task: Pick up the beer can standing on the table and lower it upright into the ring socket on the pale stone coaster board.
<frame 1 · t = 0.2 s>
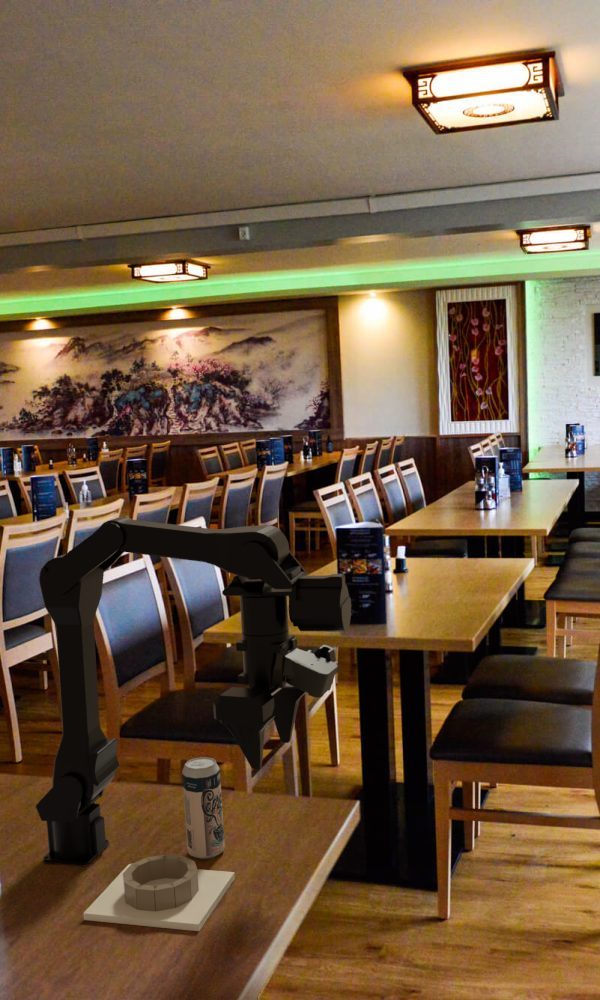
hand: (271, 755, 119), 14 cm above the table, fingers open, 9 cm apart
beer can: (206, 854, 126), on the table
socket board: (162, 898, 115), on the table
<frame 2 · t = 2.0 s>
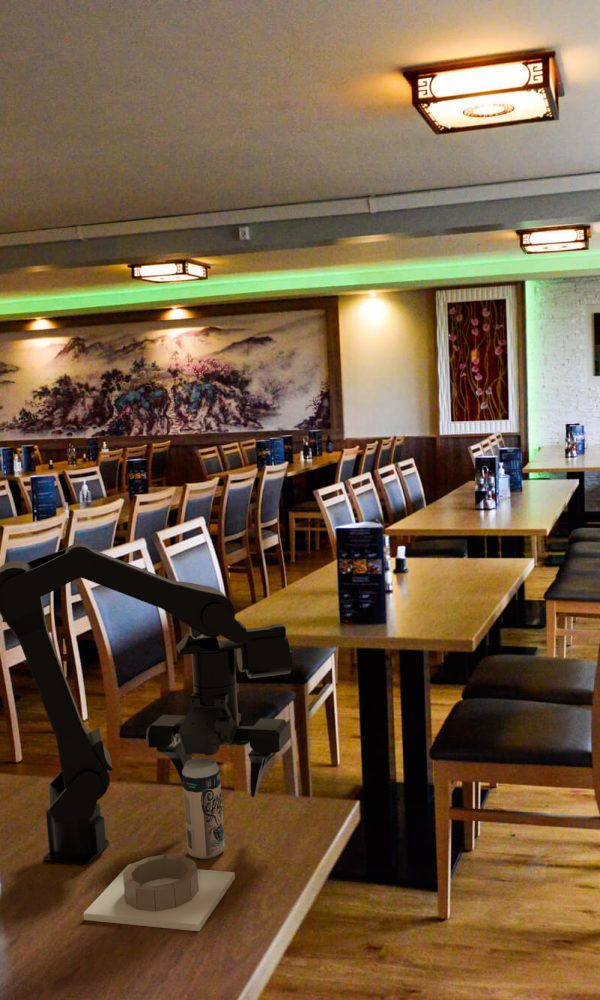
hand: (221, 794, 132), 5 cm above the table, fingers open, 9 cm apart
nothing on the table moved.
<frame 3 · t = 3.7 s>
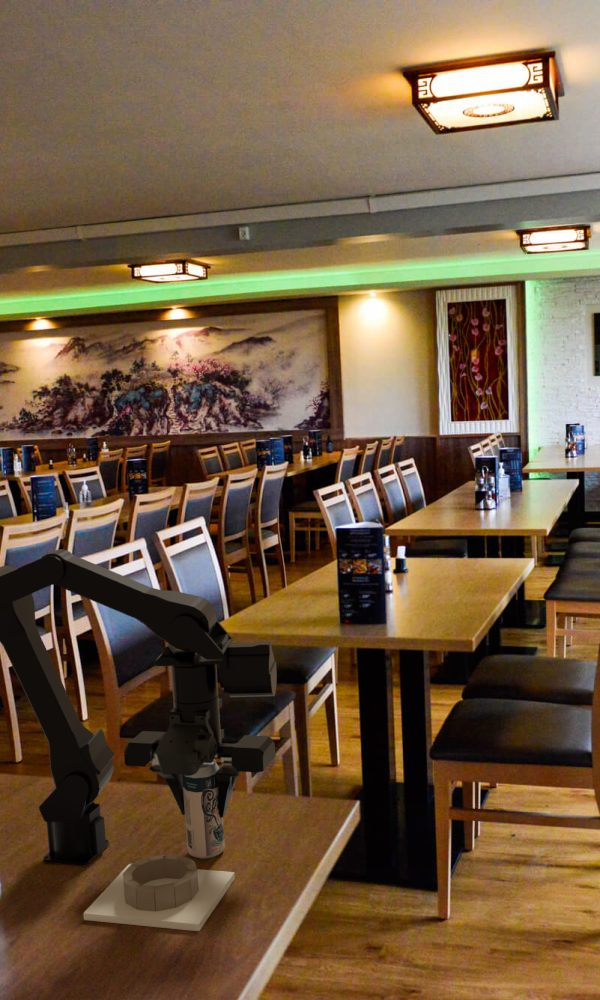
hand: (203, 815, 125), 5 cm above the table, fingers closed on beer can, 5 cm apart
beer can: (206, 853, 126), on the table, touching gripper
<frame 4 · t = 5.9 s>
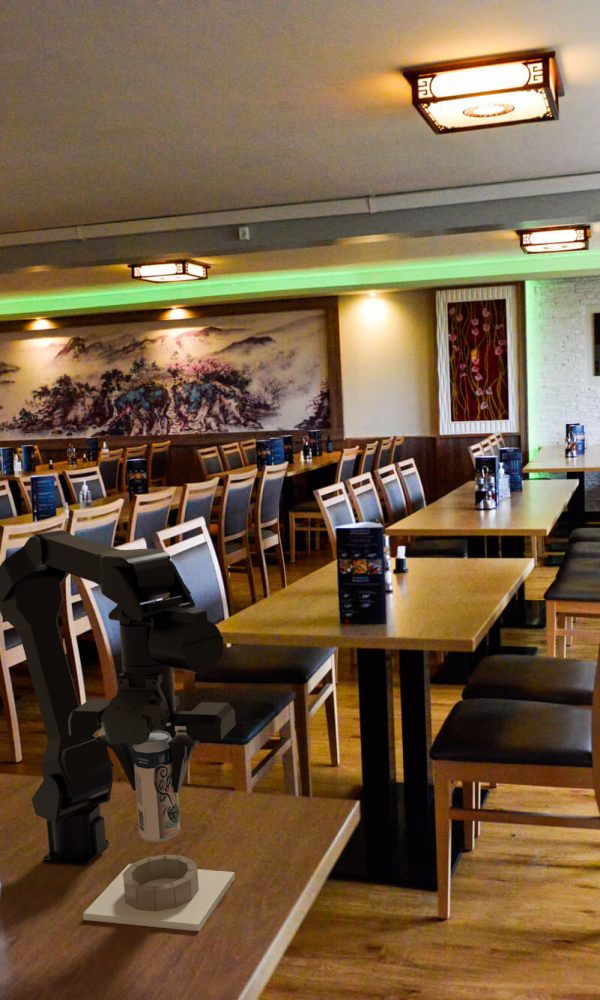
hand: (156, 790, 114), 13 cm above the table, fingers closed on beer can, 5 cm apart
beer can: (160, 837, 114), point 7 cm above the table, touching gripper
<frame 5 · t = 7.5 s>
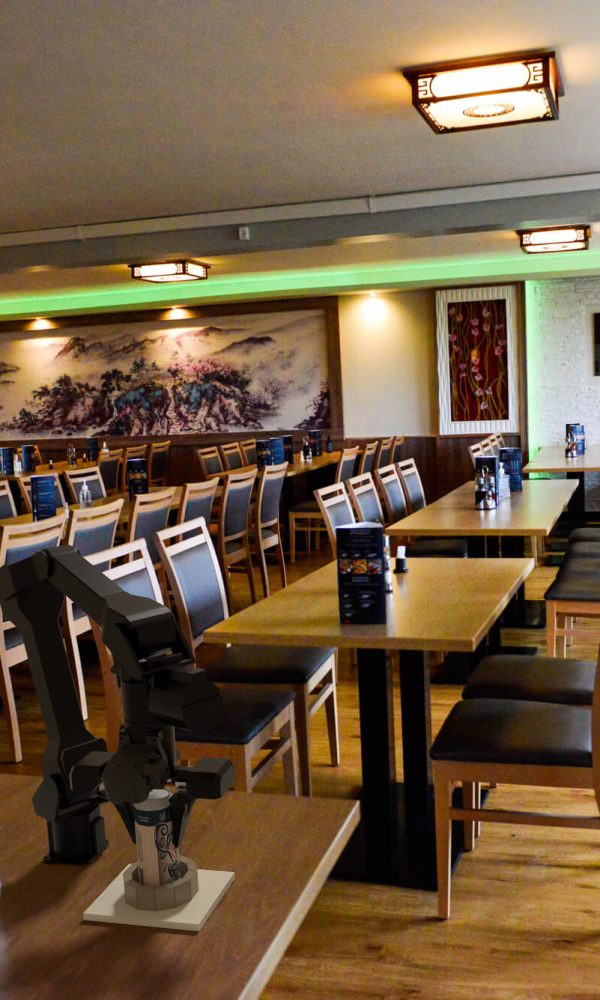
hand: (157, 844, 114), 7 cm above the table, fingers closed on beer can, 5 cm apart
beer can: (160, 893, 115), point 1 cm above the table, touching gripper, socket board
when the fingers open (7 cm above the table, at t = 8.2 s): beer can stays where it is, resting on socket board.
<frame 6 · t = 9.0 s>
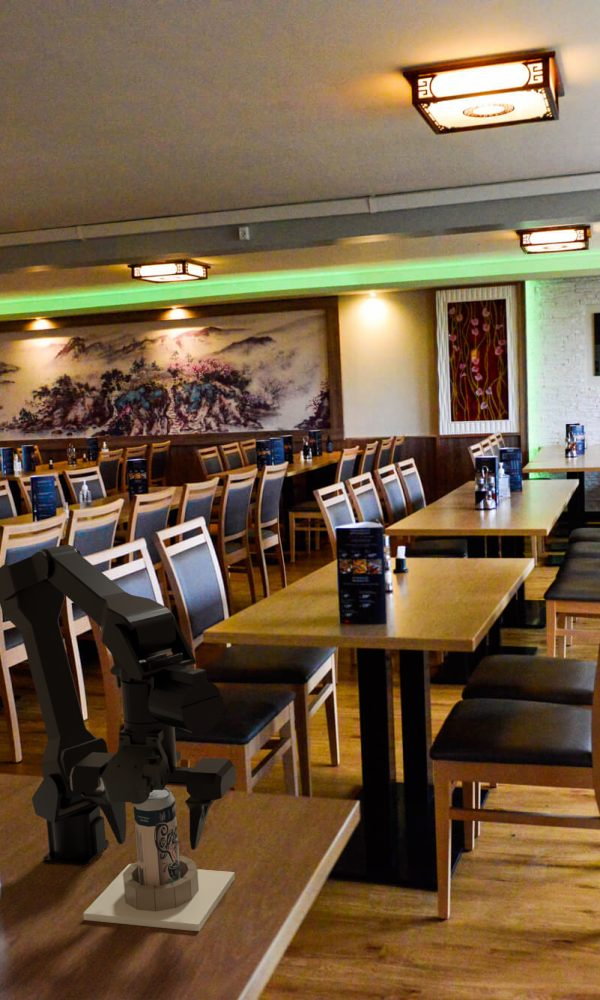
hand: (157, 845, 114), 7 cm above the table, fingers open, 9 cm apart
beer can: (160, 893, 115), point 1 cm above the table, touching socket board
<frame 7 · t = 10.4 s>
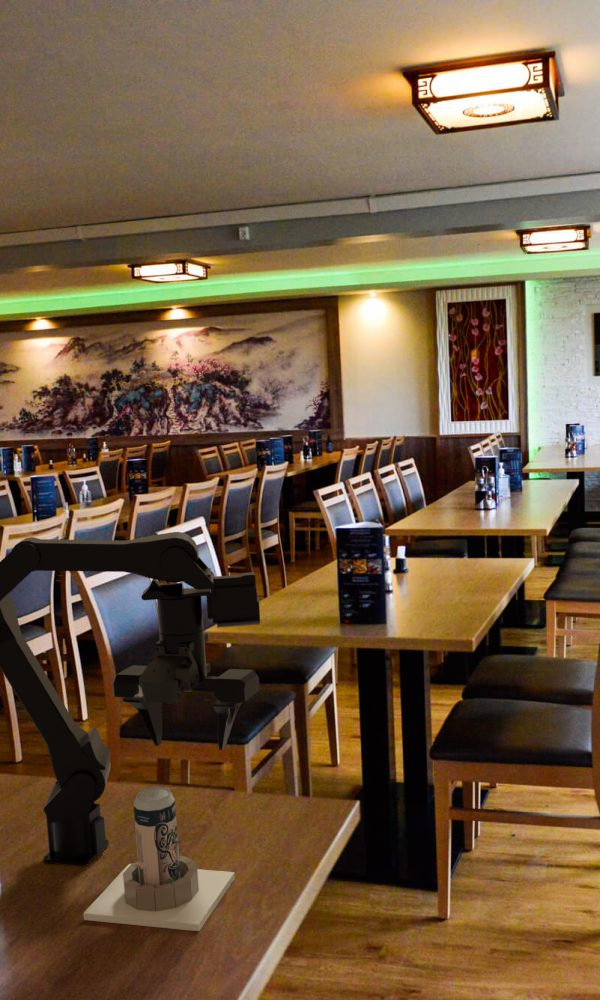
hand: (189, 747, 127), 13 cm above the table, fingers open, 9 cm apart
nothing on the table moved.
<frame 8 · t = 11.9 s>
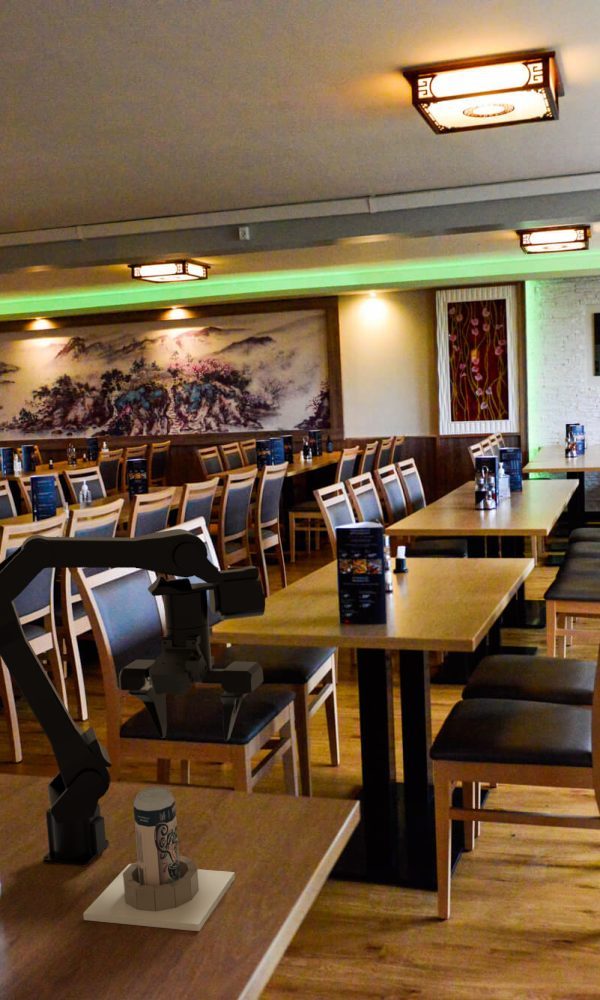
hand: (194, 738, 131), 13 cm above the table, fingers open, 9 cm apart
nothing on the table moved.
at the end: beer can 0.1 cm off-centre on the socket board, point 0.6 cm above the socket board's base; beer can tilted 0°; the gripper is holding nothing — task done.
